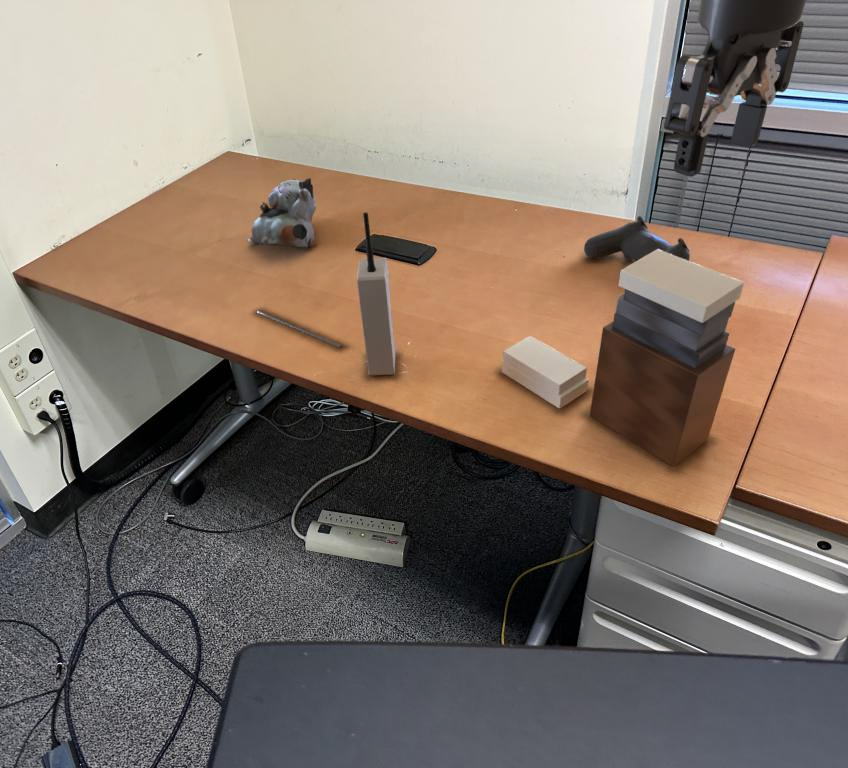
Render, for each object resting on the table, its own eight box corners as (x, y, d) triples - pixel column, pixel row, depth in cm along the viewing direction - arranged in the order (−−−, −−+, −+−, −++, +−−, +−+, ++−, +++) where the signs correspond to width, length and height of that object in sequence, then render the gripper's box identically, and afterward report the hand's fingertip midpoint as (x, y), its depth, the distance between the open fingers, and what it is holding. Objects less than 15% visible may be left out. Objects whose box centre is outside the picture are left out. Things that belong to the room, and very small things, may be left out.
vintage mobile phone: (395, 354, 103) (381, 200, 87) (394, 375, 99) (379, 218, 83) (370, 355, 104) (352, 202, 88) (368, 376, 100) (349, 220, 84)
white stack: (587, 390, 92) (590, 368, 89) (559, 409, 90) (562, 387, 87) (528, 356, 99) (530, 334, 96) (501, 372, 97) (502, 351, 94)
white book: (739, 298, 70) (744, 282, 69) (702, 323, 68) (706, 306, 67) (654, 264, 77) (657, 248, 76) (617, 285, 75) (620, 270, 74)
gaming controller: (656, 309, 107) (707, 265, 106) (646, 288, 103) (698, 242, 102) (587, 264, 120) (632, 223, 118) (576, 244, 116) (622, 201, 114)
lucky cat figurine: (241, 240, 138) (248, 169, 134) (297, 247, 143) (306, 178, 139) (261, 250, 125) (270, 170, 121) (322, 257, 129) (333, 181, 126)
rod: (260, 312, 118) (259, 309, 117) (342, 347, 107) (342, 344, 106) (257, 314, 117) (256, 311, 117) (339, 350, 106) (339, 346, 106)
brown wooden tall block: (707, 440, 82) (750, 301, 70) (672, 467, 80) (710, 328, 67) (623, 392, 91) (647, 260, 78) (589, 415, 88) (609, 283, 75)
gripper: (753, -19, 48) (704, 196, 59) (863, -60, 54) (800, 144, 64) (660, -26, 54) (630, 173, 64) (769, -63, 59) (724, 127, 69)
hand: (715, 158), depth 64 cm, fingers open, 8 cm apart
